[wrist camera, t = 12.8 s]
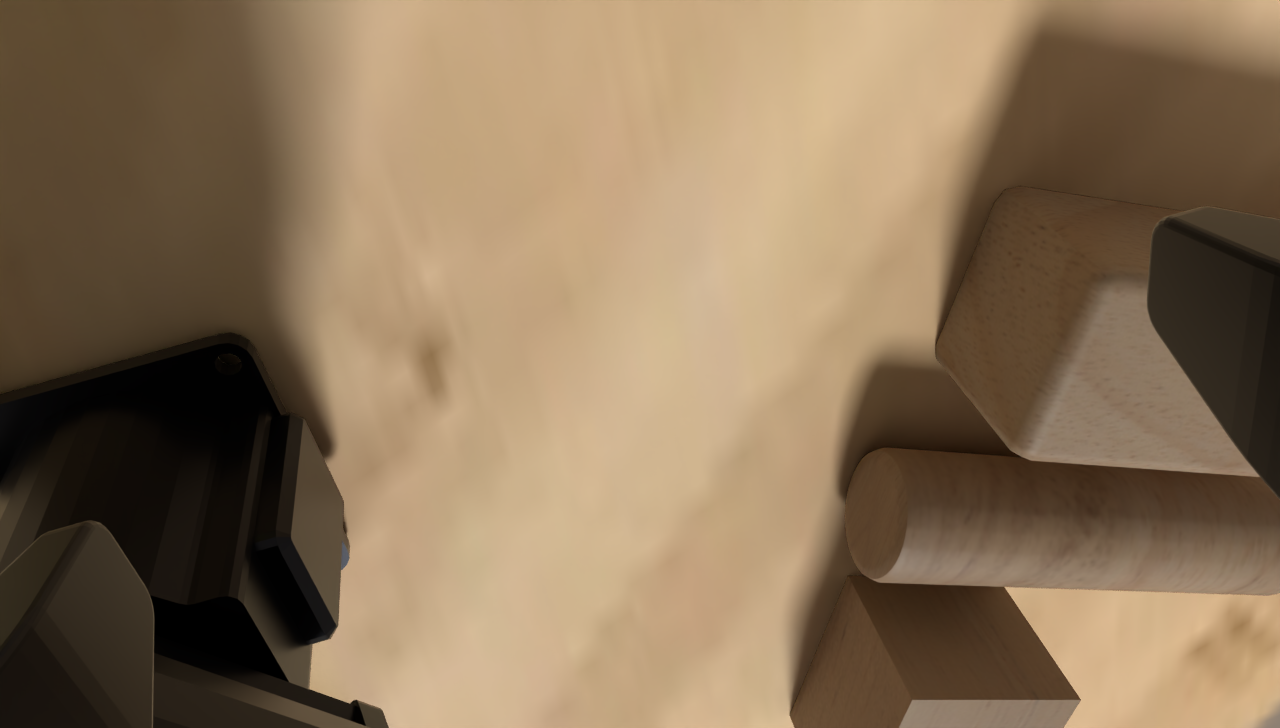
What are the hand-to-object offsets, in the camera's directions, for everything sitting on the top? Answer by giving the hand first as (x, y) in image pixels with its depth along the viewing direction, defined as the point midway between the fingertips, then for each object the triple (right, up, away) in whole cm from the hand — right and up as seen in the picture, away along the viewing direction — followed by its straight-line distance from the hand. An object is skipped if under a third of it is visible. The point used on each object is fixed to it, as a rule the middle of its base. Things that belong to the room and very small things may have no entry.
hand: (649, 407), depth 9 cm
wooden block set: (+14, -3, +22) cm, 26 cm away
